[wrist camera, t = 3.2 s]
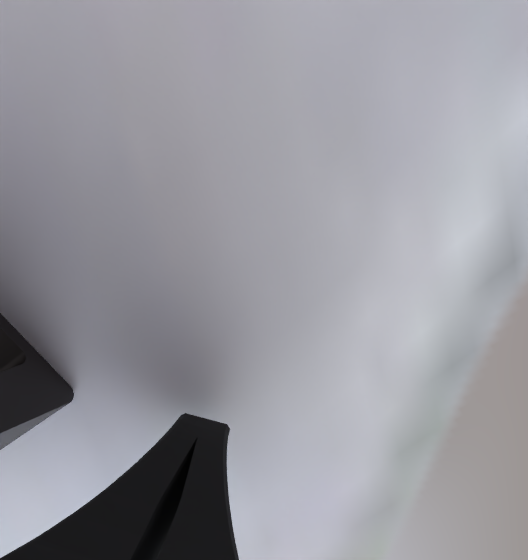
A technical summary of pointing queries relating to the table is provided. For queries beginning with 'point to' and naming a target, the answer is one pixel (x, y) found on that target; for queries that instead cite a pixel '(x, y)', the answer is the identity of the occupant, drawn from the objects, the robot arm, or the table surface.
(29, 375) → the phone stand
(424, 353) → the table surface
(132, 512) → the robot arm
